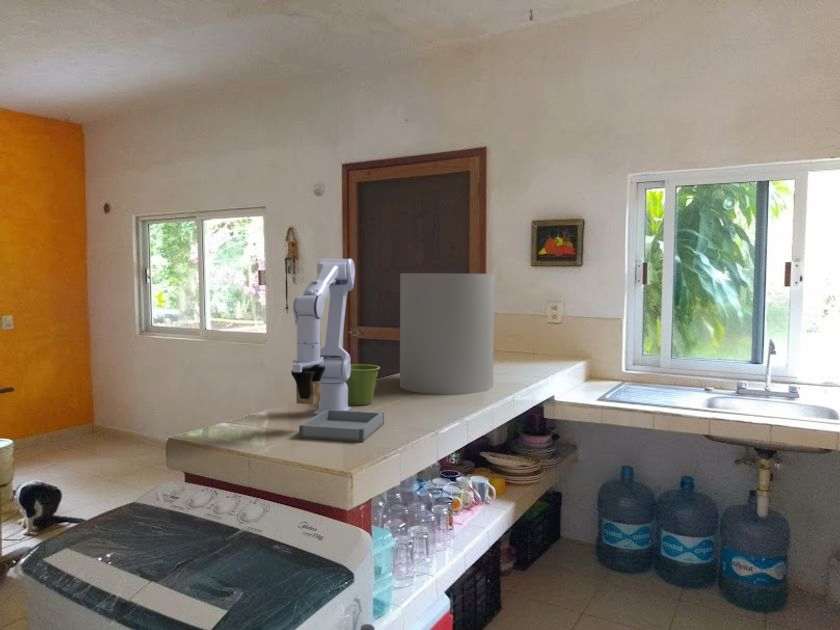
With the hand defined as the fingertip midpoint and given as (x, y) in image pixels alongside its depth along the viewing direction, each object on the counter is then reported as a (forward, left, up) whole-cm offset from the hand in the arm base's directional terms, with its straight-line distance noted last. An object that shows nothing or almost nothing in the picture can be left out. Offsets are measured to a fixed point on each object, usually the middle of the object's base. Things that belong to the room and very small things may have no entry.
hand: (308, 396), depth 151 cm
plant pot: (-33, +3, -9) cm, 34 cm away
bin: (-1, +9, -8) cm, 12 cm away
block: (0, 0, -2) cm, 2 cm away
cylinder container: (-70, +23, -9) cm, 74 cm away
